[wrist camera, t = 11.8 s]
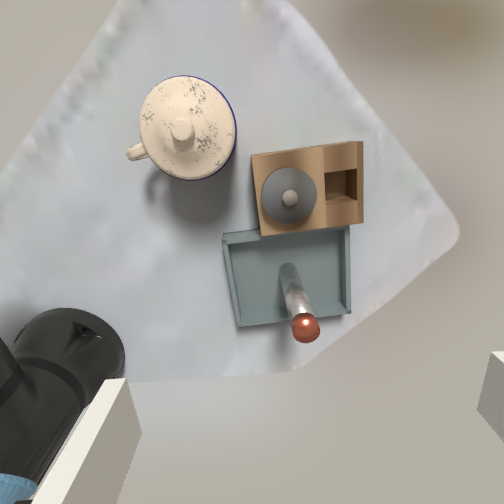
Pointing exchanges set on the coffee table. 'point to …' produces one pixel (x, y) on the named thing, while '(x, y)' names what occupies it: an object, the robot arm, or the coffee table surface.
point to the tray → (269, 262)
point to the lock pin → (298, 305)
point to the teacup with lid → (186, 128)
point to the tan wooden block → (309, 187)
